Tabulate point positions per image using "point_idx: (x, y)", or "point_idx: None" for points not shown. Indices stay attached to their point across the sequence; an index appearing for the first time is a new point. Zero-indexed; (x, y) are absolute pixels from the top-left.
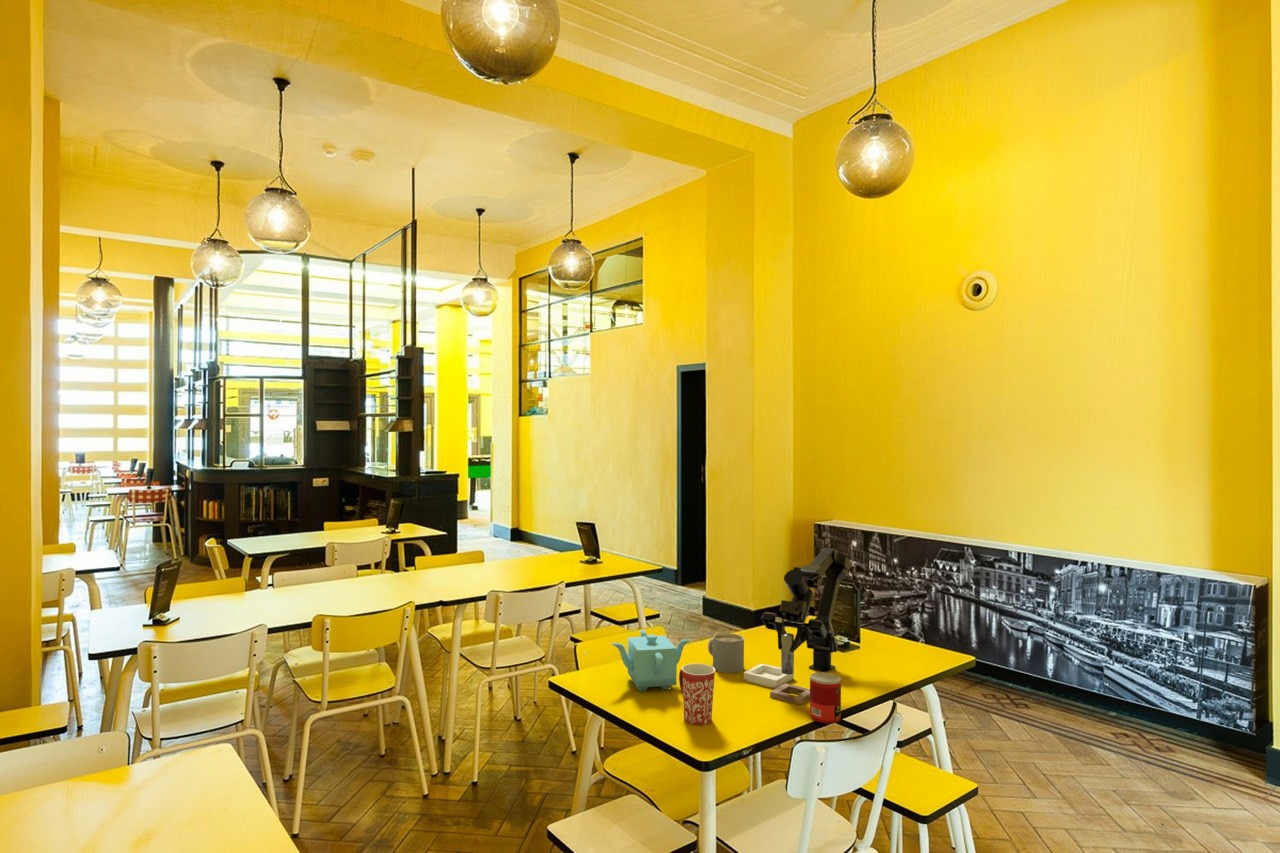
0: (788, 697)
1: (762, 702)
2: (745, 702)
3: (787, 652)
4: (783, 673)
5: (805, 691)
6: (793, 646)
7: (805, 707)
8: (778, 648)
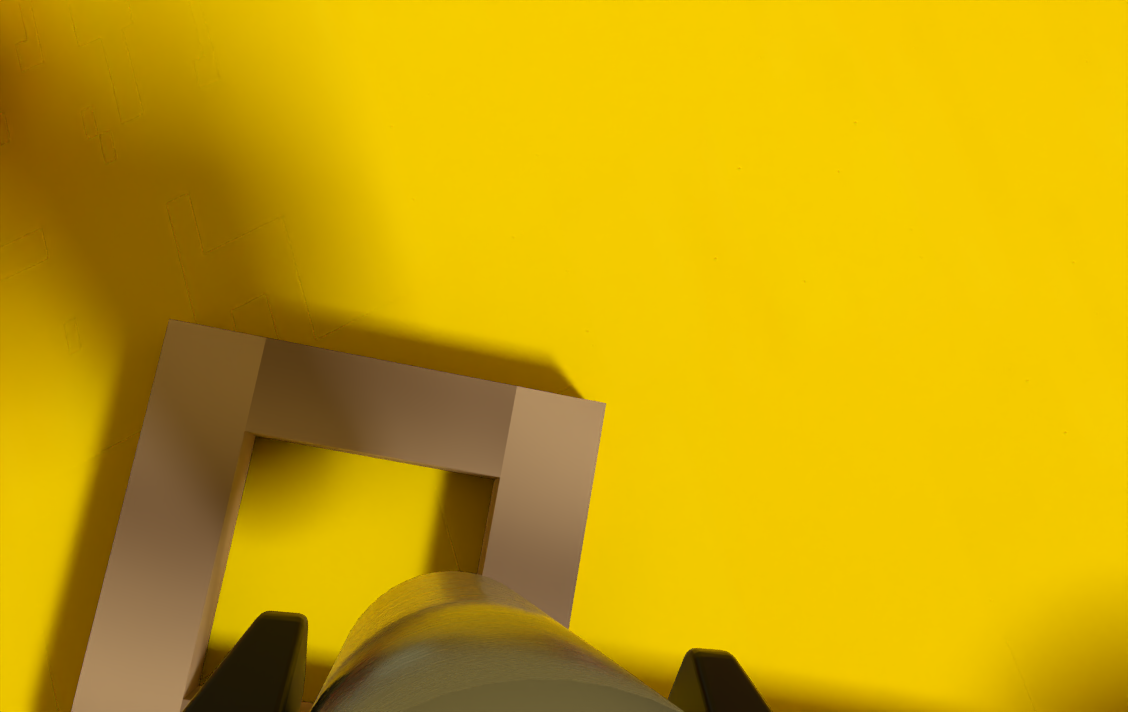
0: (344, 356)
1: (615, 206)
2: (775, 122)
3: (424, 610)
4: (492, 579)
5: (174, 668)
6: (218, 703)
7: (106, 289)
8: (718, 662)
